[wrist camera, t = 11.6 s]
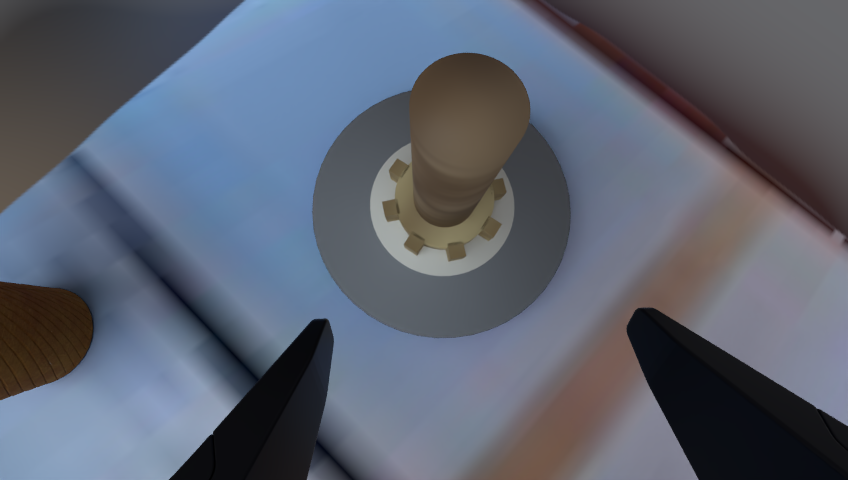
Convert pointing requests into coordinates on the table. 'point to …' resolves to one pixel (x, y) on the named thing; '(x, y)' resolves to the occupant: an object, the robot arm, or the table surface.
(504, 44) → the table surface
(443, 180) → the gear
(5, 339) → the disposable coffee cup
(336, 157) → the disc
